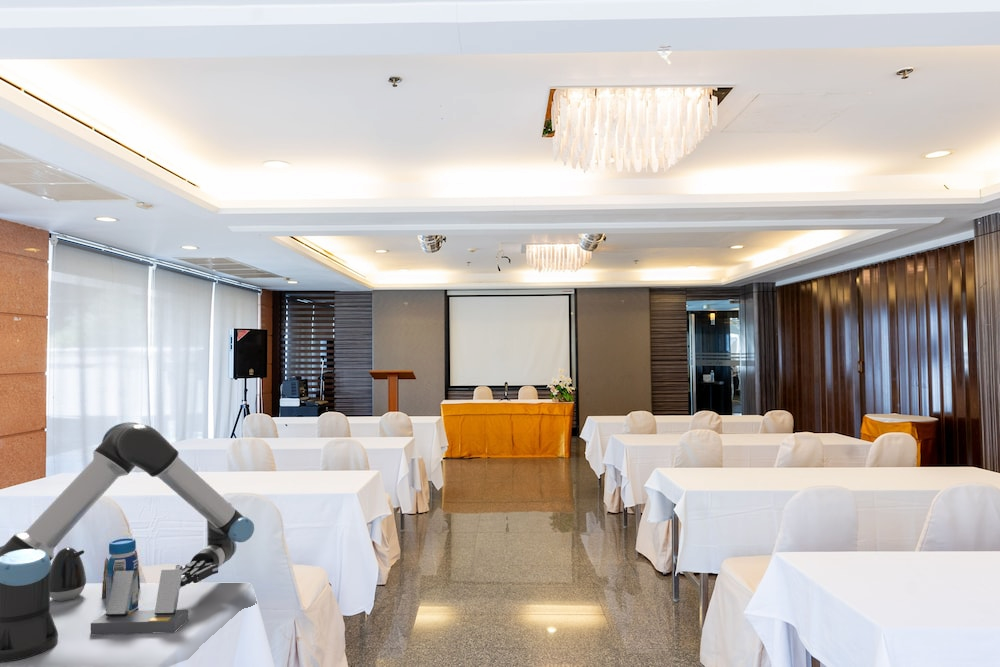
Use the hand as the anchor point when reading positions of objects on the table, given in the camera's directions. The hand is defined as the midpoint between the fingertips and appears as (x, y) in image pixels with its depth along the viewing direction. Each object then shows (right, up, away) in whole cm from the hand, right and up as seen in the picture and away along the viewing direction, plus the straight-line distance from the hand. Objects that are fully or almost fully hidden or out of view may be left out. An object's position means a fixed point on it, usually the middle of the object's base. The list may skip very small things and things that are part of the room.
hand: (171, 587), depth 182 cm
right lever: (0, -6, -4) cm, 7 cm away
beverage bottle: (-18, -10, +8) cm, 22 cm away
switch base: (-6, -9, -4) cm, 12 cm away
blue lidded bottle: (-27, -10, +22) cm, 37 cm away
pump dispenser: (-42, -11, +19) cm, 47 cm away
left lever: (-13, -6, -4) cm, 15 cm away
